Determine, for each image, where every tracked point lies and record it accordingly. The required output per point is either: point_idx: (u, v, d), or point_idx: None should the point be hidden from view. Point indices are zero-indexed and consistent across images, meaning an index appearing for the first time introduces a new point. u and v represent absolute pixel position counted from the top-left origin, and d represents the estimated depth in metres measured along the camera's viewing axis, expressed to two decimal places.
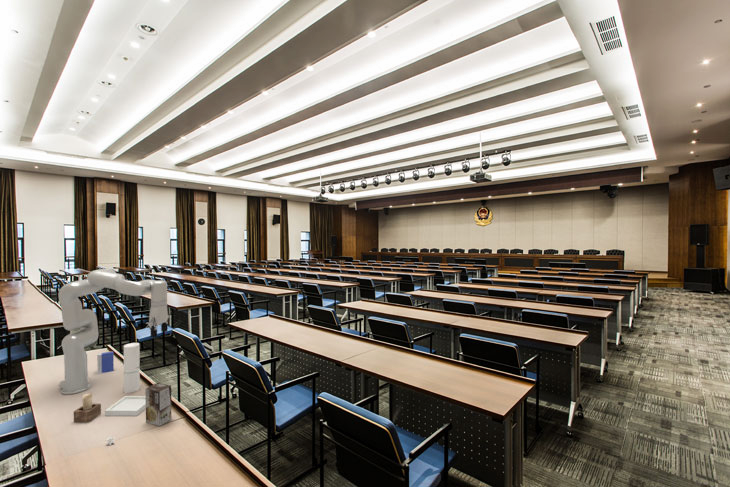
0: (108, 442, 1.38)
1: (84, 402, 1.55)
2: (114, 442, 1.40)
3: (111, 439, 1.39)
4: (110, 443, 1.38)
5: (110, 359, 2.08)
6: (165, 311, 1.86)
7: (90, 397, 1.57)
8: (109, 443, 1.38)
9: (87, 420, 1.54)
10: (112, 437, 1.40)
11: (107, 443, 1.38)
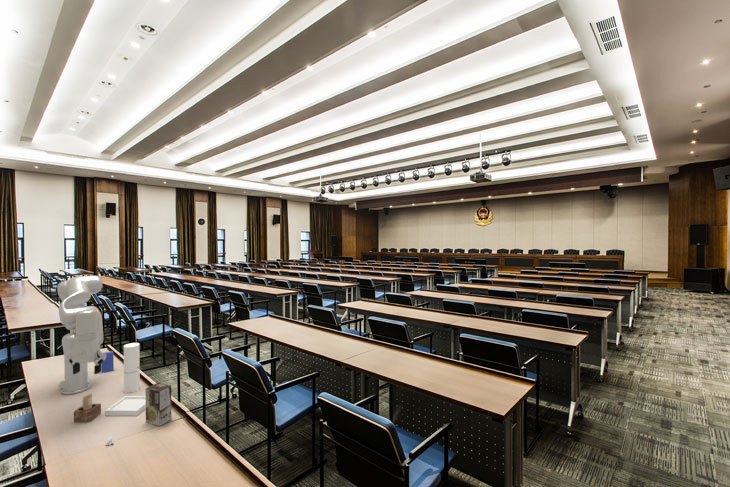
0: (107, 443, 1.38)
1: (84, 402, 1.55)
2: (113, 442, 1.40)
3: (110, 439, 1.39)
4: (109, 443, 1.38)
5: (110, 359, 2.08)
6: None
7: (90, 397, 1.57)
8: (108, 444, 1.38)
9: (87, 420, 1.54)
10: (111, 437, 1.39)
11: (106, 444, 1.38)
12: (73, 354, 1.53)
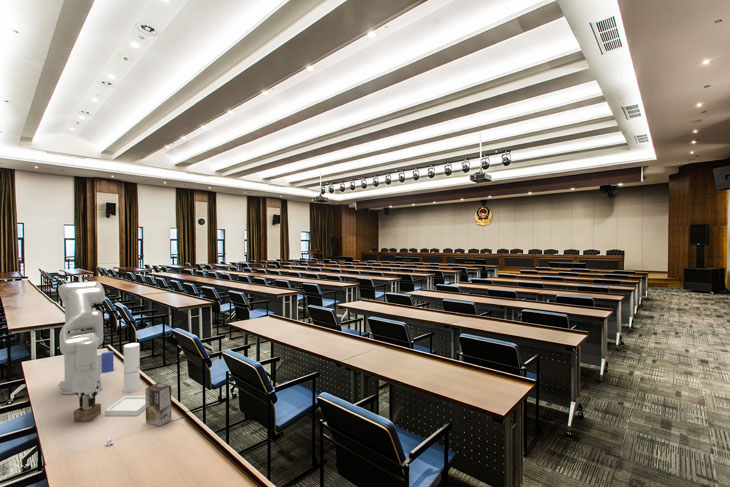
0: (107, 443, 1.38)
1: (84, 402, 1.55)
2: None
3: (110, 440, 1.39)
4: (109, 444, 1.38)
5: (110, 359, 2.08)
6: None
7: None
8: (108, 444, 1.38)
9: (87, 420, 1.54)
10: (111, 438, 1.39)
11: (106, 444, 1.38)
12: (73, 384, 1.54)
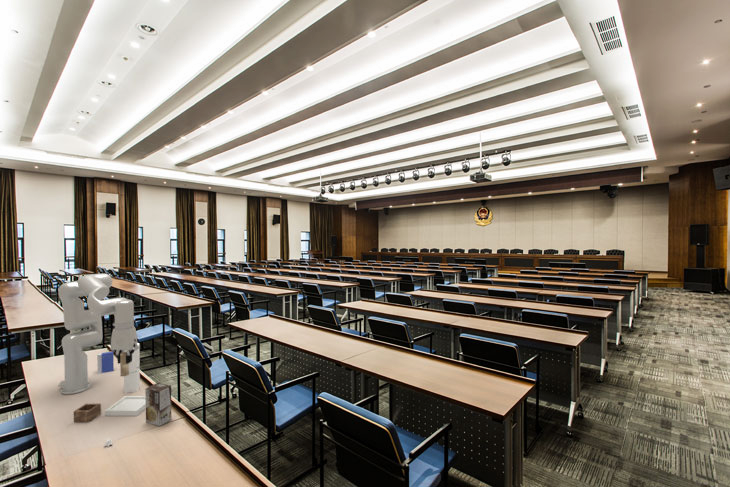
0: (106, 444, 1.37)
1: (122, 359, 1.62)
2: None
3: (109, 441, 1.38)
4: (108, 445, 1.37)
5: (110, 359, 2.08)
6: None
7: None
8: (107, 445, 1.37)
9: (87, 420, 1.54)
10: (110, 439, 1.39)
11: (105, 445, 1.37)
12: (112, 342, 1.61)
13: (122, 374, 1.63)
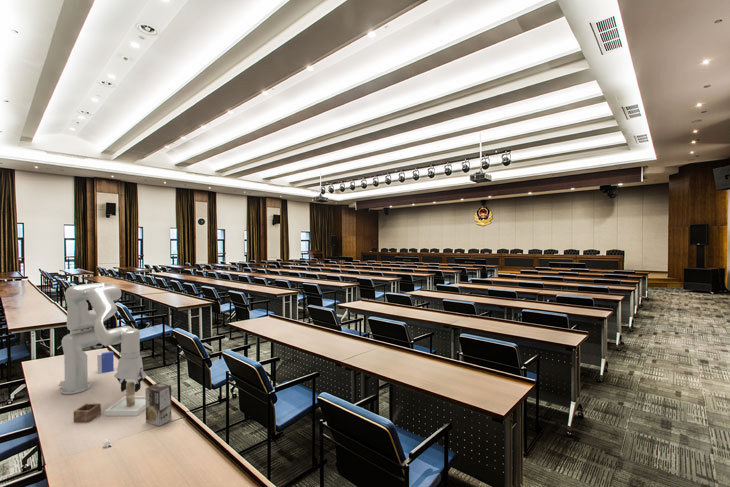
0: (105, 444, 1.37)
1: (128, 390, 1.65)
2: None
3: (108, 441, 1.38)
4: (107, 445, 1.36)
5: (110, 359, 2.08)
6: None
7: (133, 385, 1.66)
8: (106, 445, 1.37)
9: (87, 420, 1.54)
10: (109, 439, 1.38)
11: (104, 446, 1.37)
12: (118, 371, 1.63)
13: (128, 404, 1.65)
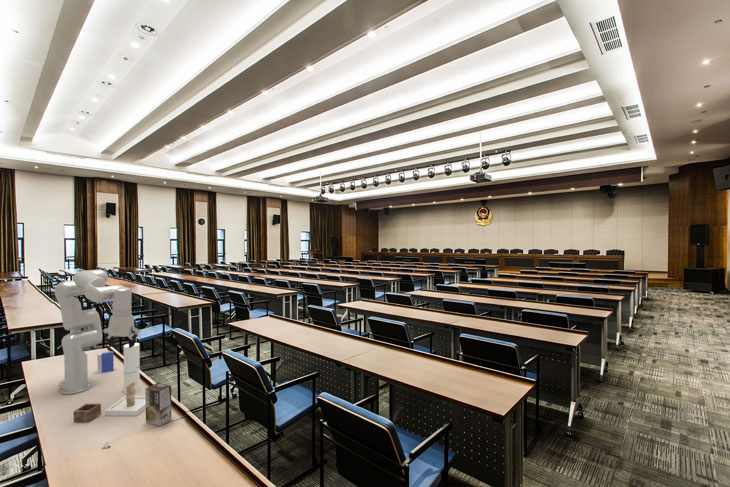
0: (104, 445, 1.36)
1: (128, 390, 1.65)
2: (110, 445, 1.38)
3: (107, 442, 1.37)
4: (106, 446, 1.36)
5: (110, 359, 2.08)
6: None
7: (133, 385, 1.66)
8: (105, 446, 1.36)
9: (87, 420, 1.54)
10: (108, 440, 1.38)
11: (103, 446, 1.36)
12: (109, 328, 1.64)
13: (128, 404, 1.65)
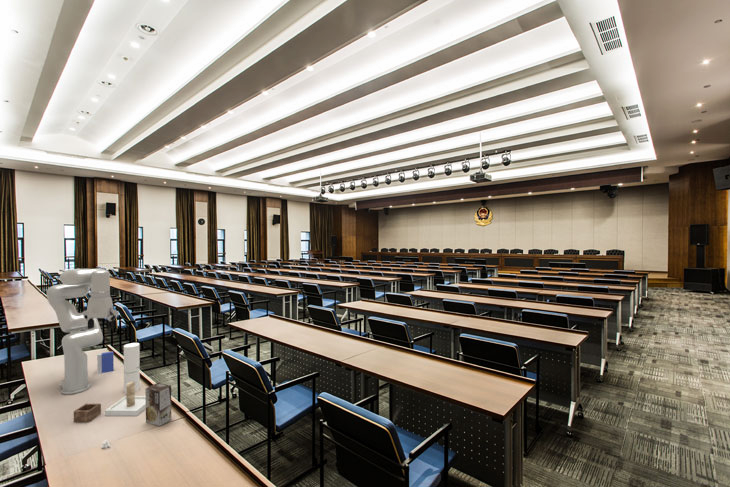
0: (103, 446, 1.36)
1: (128, 390, 1.65)
2: None
3: (106, 442, 1.37)
4: (106, 446, 1.36)
5: (110, 359, 2.08)
6: None
7: (133, 385, 1.66)
8: (105, 447, 1.36)
9: (87, 420, 1.54)
10: (107, 440, 1.37)
11: (102, 447, 1.36)
12: (88, 310, 1.67)
13: (128, 404, 1.65)
